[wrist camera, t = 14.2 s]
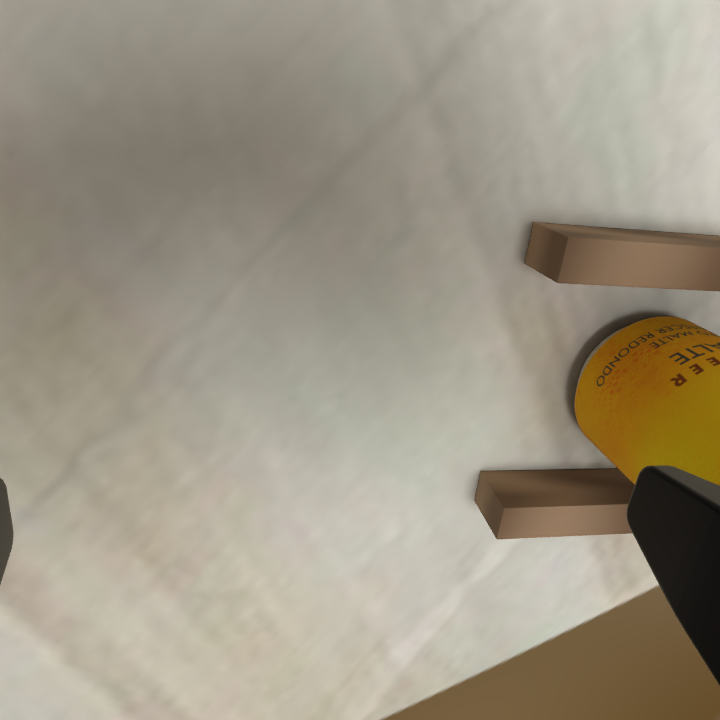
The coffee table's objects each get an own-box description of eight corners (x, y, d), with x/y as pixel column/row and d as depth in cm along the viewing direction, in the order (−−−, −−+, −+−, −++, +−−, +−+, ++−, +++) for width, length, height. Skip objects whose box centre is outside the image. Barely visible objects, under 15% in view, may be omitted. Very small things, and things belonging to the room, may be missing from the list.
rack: (474, 500, 26) (508, 560, 22) (533, 222, 21) (588, 245, 18) (702, 493, 28) (764, 547, 25) (801, 241, 23) (893, 265, 20)
